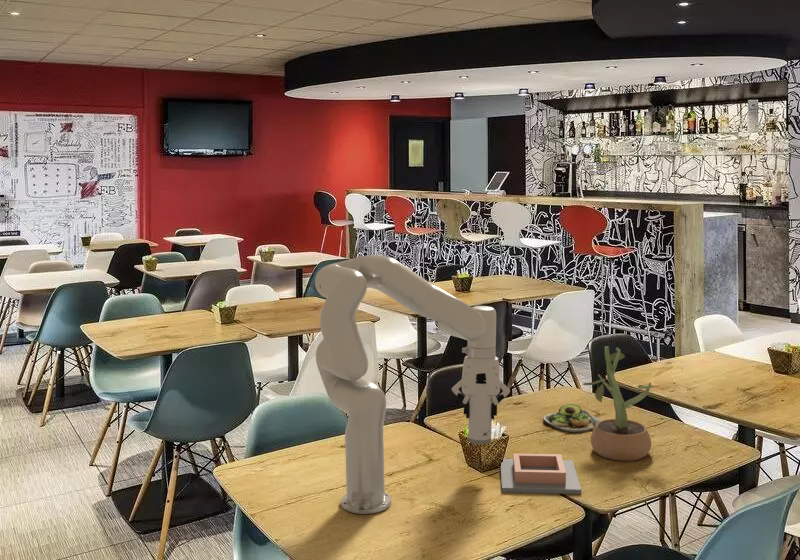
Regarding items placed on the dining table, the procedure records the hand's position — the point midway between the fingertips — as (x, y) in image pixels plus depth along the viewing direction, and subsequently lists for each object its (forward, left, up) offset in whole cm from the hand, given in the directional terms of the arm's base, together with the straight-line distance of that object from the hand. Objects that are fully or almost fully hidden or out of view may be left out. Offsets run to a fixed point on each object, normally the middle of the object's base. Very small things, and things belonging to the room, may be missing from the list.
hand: (480, 416), depth 212 cm
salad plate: (+43, -30, -17) cm, 55 cm away
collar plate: (-3, -16, -16) cm, 22 cm away
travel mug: (0, 0, -7) cm, 7 cm away
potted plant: (+20, -40, -16) cm, 47 cm away
